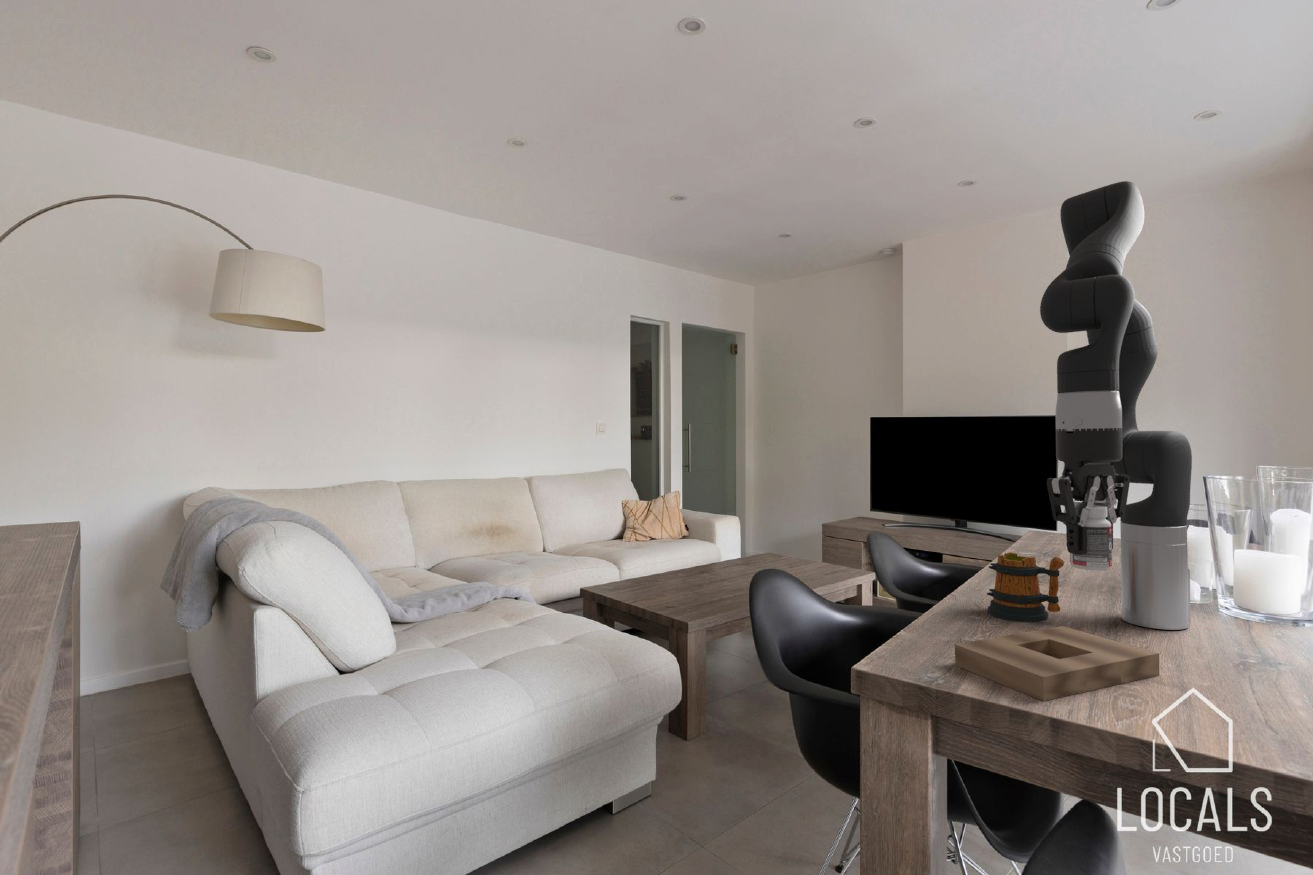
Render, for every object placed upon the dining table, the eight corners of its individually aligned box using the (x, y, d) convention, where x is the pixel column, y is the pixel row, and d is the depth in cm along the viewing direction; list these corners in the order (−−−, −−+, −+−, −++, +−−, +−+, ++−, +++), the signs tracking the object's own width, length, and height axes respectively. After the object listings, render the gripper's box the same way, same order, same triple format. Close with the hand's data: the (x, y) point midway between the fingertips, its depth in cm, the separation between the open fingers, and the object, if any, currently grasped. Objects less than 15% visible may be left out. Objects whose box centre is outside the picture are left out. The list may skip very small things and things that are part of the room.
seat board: (1063, 645, 103) (1062, 625, 102) (1159, 675, 89) (1159, 653, 89) (955, 664, 95) (954, 644, 95) (1043, 701, 82) (1043, 676, 81)
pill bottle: (1119, 571, 86) (1118, 507, 86) (1079, 570, 87) (1079, 507, 87) (1101, 564, 91) (1100, 503, 91) (1064, 563, 91) (1063, 503, 91)
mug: (975, 613, 121) (975, 551, 121) (1002, 604, 127) (1001, 545, 127) (1052, 629, 111) (1051, 561, 111) (1077, 618, 117) (1076, 554, 117)
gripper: (1095, 426, 95) (1097, 543, 95) (1025, 427, 89) (1027, 552, 89) (1151, 425, 88) (1153, 551, 88) (1080, 426, 82) (1082, 561, 83)
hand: (1090, 551), depth 89 cm, fingers closed on pill bottle, 4 cm apart
